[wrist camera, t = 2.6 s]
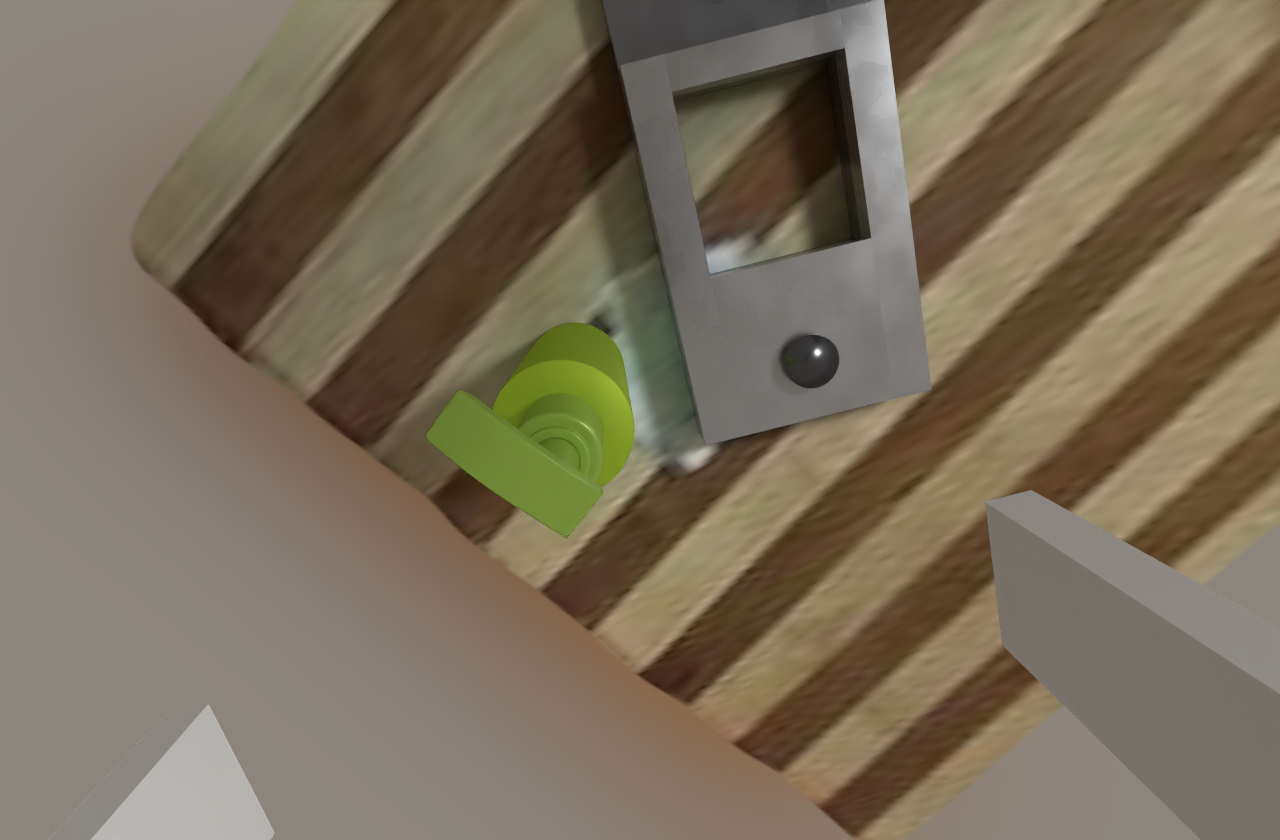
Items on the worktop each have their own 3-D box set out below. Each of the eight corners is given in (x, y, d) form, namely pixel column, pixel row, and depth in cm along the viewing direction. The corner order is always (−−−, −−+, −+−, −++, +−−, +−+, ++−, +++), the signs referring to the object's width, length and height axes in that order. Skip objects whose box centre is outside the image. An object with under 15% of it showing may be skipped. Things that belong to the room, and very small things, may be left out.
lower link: (582, -79, 33) (581, -102, 31) (840, -145, 33) (857, -172, 31) (672, 314, 38) (676, 318, 36) (893, 259, 38) (910, 259, 36)
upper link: (618, 79, 35) (620, 60, 31) (861, 17, 35) (890, -8, 31) (698, 432, 40) (707, 449, 37) (909, 379, 40) (938, 392, 37)
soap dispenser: (550, 291, 37) (495, 337, 18) (644, 362, 39) (683, 476, 20) (492, 370, 38) (381, 492, 19) (585, 436, 40) (568, 614, 21)
